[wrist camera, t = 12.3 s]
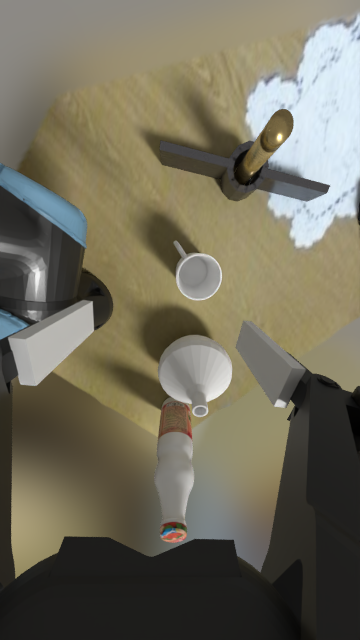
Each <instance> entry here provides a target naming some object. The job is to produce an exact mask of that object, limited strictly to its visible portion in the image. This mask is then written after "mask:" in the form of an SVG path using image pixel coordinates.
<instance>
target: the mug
mask: <svg viewBox="0 0 360 640" xmlns="http://www.w3.org/2000/svg"><path fill="white" fill-rule="evenodd" d="M173 244H174V245H175V247H176V248H177V250H178V252H179V253H180V255H181V256H182V258H181V259H180V260H179V262H178V264H177V266H176V282H177V286H178V288H179V290H180V291H181V293H182V294H183V295H184V296H186V297H187V298H190V299H192V300H204V299H207V298H209V297H211V296H212V295H213V294H214V293H215V292H216V291H217V290H218V288H219V286H220V284H221V280H222V272H221V268H220V266H219V264H218V262H217V261H216V260H215V259H214V258H213V257H211V256H210V255H207V254H203V253H189V254H186V253H185V252H184V250H183V249H182V247H181V246H180V244H179V243H178V241H174V242H173Z"/></svg>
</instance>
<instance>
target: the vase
mask: <svg viewBox="0 0 360 640" xmlns="http://www.w3.org/2000/svg"><path fill="white" fill-rule="evenodd" d="M231 376H232V364H231V360H230V358H229V356H228V354H227V353H226V351H225V349H224V348H223V347H222V346H221V345H220V344H219V343H218V342H216V341H214V340H212V339H210V338H208V337H205V336H200V335H188V336H184V337H181V338H179V339H177V340H176V341H174V342H173V343H171V344H170V345H169V346H168V347H167V348H166V349H165V351H164V352H163V354H162V356H161V358H160V362H159V367H158V377H159V380H160V383H161V385H162V387H163V389H164V390H165V391H166V393H167V394H168V395H170V396H171V397H172V398H174V399H176V400H178V401H181V402H184V403H190V404H192V412H193V414H194V415H195V416H197V417H202V416H205V415H206V414H207V413H208V407H207V402H208V401H211V400H213V399H215V398H217V397H218V396H219V395H221V394H222V393H223V392H224V391H225V390H226V389H227V387H228V386H229V383H230V381H231Z"/></svg>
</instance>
